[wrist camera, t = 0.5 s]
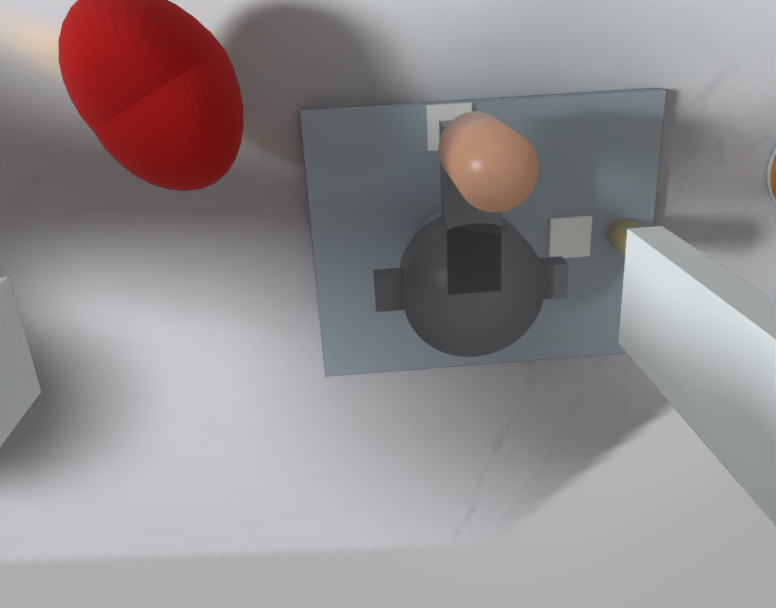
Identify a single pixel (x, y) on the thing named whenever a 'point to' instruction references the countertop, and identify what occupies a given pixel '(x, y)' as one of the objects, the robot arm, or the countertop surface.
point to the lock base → (531, 218)
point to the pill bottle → (772, 175)
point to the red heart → (153, 89)
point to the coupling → (474, 247)
